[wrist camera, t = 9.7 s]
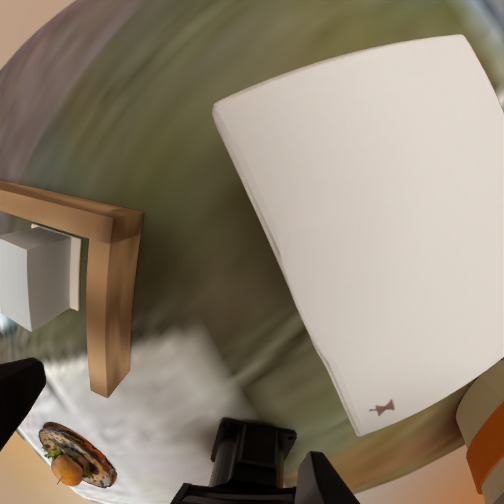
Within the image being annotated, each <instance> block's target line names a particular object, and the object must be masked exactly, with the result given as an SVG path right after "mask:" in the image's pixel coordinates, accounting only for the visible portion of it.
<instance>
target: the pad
mask: <svg viewBox="0 0 504 504" xmlns="http://www.w3.org/2000/svg"><path fill="white" fill-rule="evenodd" d="M35 227H41V228H45V229H48V230H51V231H54V232H57V233H60V234H64V235H67V236H70V237H72V240H71V256H70V308H72V309H75V310H77V311H79V310H80V266H81V249H82V239H81V238H77V237H74V236H71V235H68V234H65V233H61V232H58V231H55V230H52V229H49V228H46V227H43V226H40V225H37V224H34V223H33V224H32V227H31V228H35Z"/></svg>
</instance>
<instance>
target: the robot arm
mask: <svg viewBox="0 0 504 504" xmlns="http://www.w3.org/2000/svg"><path fill="white" fill-rule="evenodd" d="M45 385H46V375H45V370H44V365H43V363H42V362H41V361H39V360H38V359H36V358H33V357H32V358H27V359H22V360H18V361H13V362H8V363H3V364H0V451H1V450H2V448H3V447H4V446H5V444H6V443H7V441H8V440H9V438H10V437H11V436H12V435H13V433H14V432H15V430H16V429H17V428H18V426H19V425H20V424H21V423H22V421H23V420H24V419H25V417H26V416H27V414H28V413H29V411H30V410H31V408H32V406H33V405H34V403H35V401H36V400H37V398H38V396H39V395H40V393H41V392H42V390H43V388H44V387H45ZM225 423H226V424H225ZM290 436H291V437H290ZM296 438H297V434H296V432H294V431H288V430H282V429H276V428H270V427H265V426H260V425H255V424H250V423H245V422H240V421H236V420H232V419H227V418H224V419H222V420H221V422H220V425H219V429H218V433H217V436H216V440H215V444H214V447H213V451H212V455H211V458H210V459H211V461H213V462H215V463H214V467H213V471H212V475H211V479H210V483H209V486H199V485H192V484H190V483H183V485H182V487H181V488H180V490H179V491H178V492H177V494H176V495H175V497H174V499H173V500H172V502H171V503H170V504H360V503H359V501H358V500H357V499H356V497H355V496H354V495H353V493H352V492H351V491H350V489H349V488H348V487H347V485H346V484H345V483H344V481H343V480H342V479H341V477H340V476H339V474H338V473H337V472H336V470H335V469H334V467H333V466H332V465H331V463H330V462H329V460H328V459H327V458H326V456H325V455H324V454H323V453H322V452H316V451H310V452H308V454H307V455H306V457H305V458H304V460H303V461H302V463H301V465H300V467H299V470H298V479H297V486H294V487H293V488H283V464H284V460H285V458H286V457H287V455H288V453H289V451H290V450H291V448H292V446H293V444H294V442H295V440H296Z"/></svg>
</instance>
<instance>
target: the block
mask: <svg viewBox="0 0 504 504" xmlns="http://www.w3.org/2000/svg"><path fill="white" fill-rule="evenodd" d="M71 240H72V237H70V236H67V235H64V234H60V233H57V232H54V231H51V230H48V229H45V228H41V227H35V228H31V229H26V230H22V231H17V232H13V233H9V234H4V235H0V309H1V313H2V314H4V315H5V316H7V317H9V318H10V319H12V320H13V321H15V322H16V323H18V324H20V325H21V326H23V327H24V328H26V329H28V330H29V331H31V332H33V331H34V330H36V329H37V328H39V327H40V326H42V325H44V324H45V323H47V322H48V321H50V320H51V319H53V318H55V317H56V316H58V315H59V314H61V313H63V312H64V311H66V310H67V309H69V308H70V256H71Z"/></svg>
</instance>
